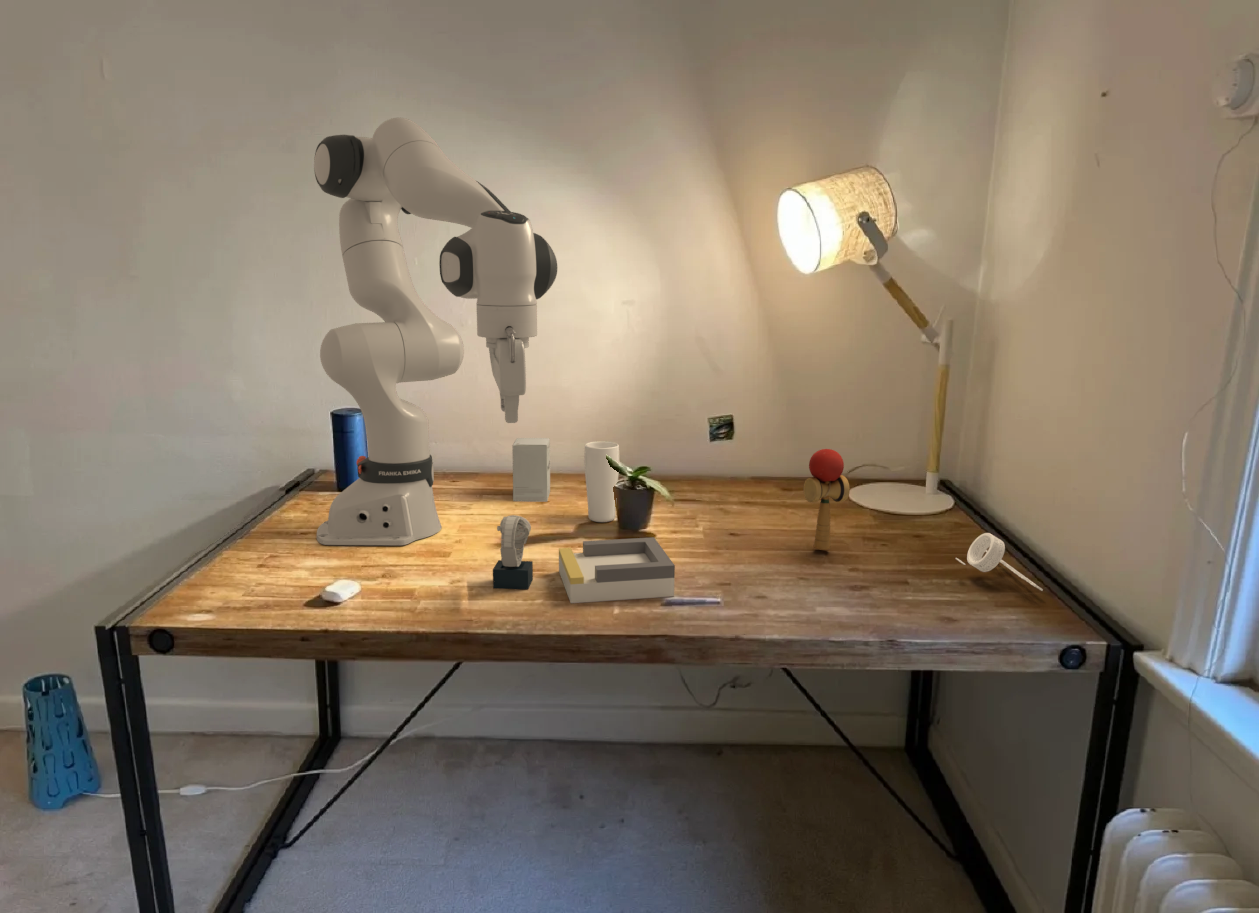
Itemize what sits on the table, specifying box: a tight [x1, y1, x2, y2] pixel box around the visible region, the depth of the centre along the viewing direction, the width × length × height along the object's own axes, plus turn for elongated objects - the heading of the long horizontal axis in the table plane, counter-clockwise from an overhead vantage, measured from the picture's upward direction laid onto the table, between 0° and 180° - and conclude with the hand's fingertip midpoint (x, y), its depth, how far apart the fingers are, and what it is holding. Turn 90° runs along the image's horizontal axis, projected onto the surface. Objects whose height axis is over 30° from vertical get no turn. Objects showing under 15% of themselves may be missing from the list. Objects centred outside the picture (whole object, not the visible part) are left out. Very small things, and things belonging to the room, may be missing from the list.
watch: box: [492, 514, 534, 590], centre depth 144 cm, size 6×8×11 cm
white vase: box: [583, 440, 620, 523], centre depth 178 cm, size 7×7×15 cm
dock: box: [558, 536, 676, 604], centre depth 145 cm, size 16×14×5 cm
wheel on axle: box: [955, 532, 1044, 592], centre depth 151 cm, size 18×10×7 cm
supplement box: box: [511, 437, 551, 503], centre depth 192 cm, size 7×7×13 cm
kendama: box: [802, 448, 851, 551], centre depth 162 cm, size 8×6×18 cm
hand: (509, 416), depth 138 cm, fingers open, 8 cm apart
